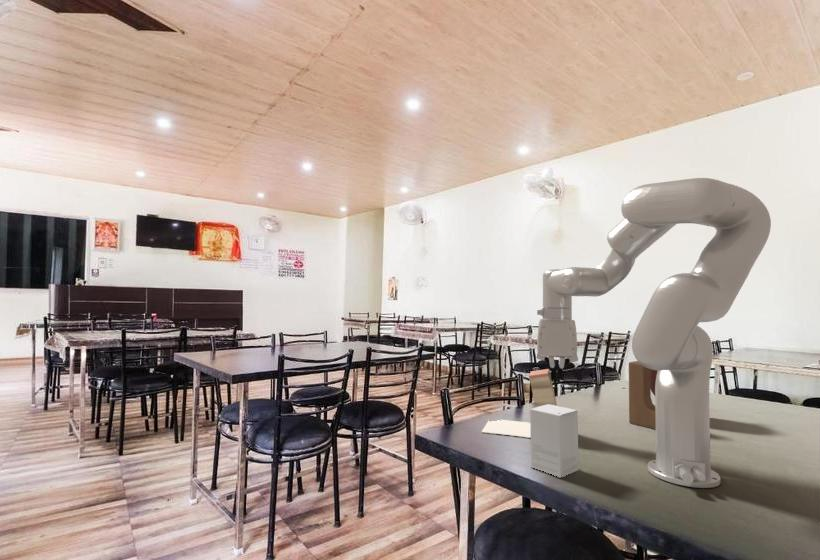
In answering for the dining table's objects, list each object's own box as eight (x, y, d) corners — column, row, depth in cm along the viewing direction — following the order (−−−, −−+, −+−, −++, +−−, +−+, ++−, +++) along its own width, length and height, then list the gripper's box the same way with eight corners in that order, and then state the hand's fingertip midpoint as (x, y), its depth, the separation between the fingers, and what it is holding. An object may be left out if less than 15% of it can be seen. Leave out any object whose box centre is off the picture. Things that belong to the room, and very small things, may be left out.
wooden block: (668, 428, 121) (667, 364, 122) (661, 431, 119) (660, 365, 120) (635, 421, 128) (635, 360, 129) (628, 423, 126) (627, 362, 127)
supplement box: (579, 470, 90) (579, 409, 91) (560, 479, 85) (560, 415, 86) (549, 459, 96) (548, 403, 96) (529, 467, 91) (529, 408, 92)
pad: (535, 439, 110) (535, 437, 110) (481, 432, 115) (481, 431, 115) (538, 424, 123) (538, 423, 123) (489, 419, 128) (489, 418, 128)
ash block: (561, 434, 111) (547, 373, 113) (542, 436, 113) (528, 375, 114) (561, 426, 118) (548, 368, 120) (543, 428, 120) (530, 371, 122)
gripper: (527, 314, 116) (527, 382, 115) (587, 315, 110) (587, 387, 110) (529, 313, 123) (529, 377, 122) (585, 315, 118) (586, 382, 117)
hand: (556, 382), depth 116 cm, fingers closed
